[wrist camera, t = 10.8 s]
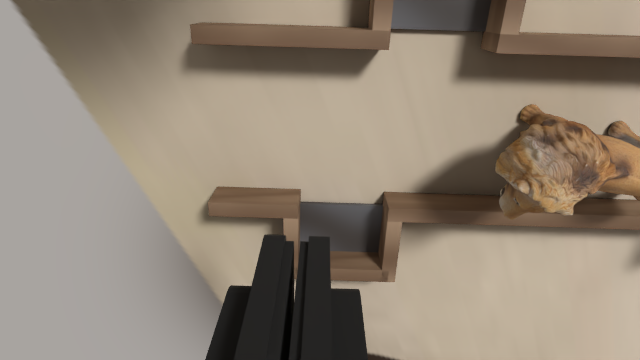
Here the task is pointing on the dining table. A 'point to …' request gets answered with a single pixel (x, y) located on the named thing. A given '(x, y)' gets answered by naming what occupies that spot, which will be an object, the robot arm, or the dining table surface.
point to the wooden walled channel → (386, 219)
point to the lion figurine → (565, 164)
